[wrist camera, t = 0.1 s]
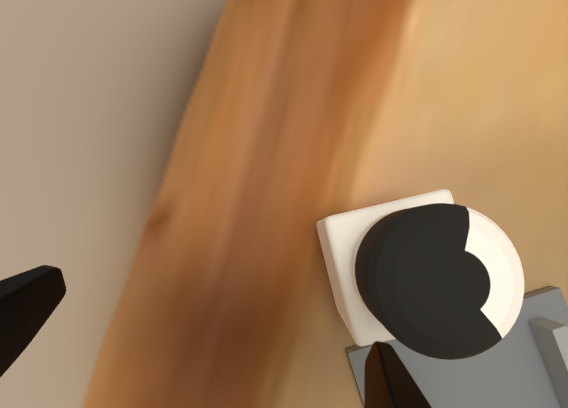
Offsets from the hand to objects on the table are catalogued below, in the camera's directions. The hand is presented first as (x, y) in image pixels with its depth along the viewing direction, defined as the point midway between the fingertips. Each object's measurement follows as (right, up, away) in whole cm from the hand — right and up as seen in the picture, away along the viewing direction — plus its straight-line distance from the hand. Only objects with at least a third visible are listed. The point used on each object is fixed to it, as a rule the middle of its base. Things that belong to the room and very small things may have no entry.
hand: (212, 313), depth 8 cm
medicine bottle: (+9, -1, +15) cm, 17 cm away
